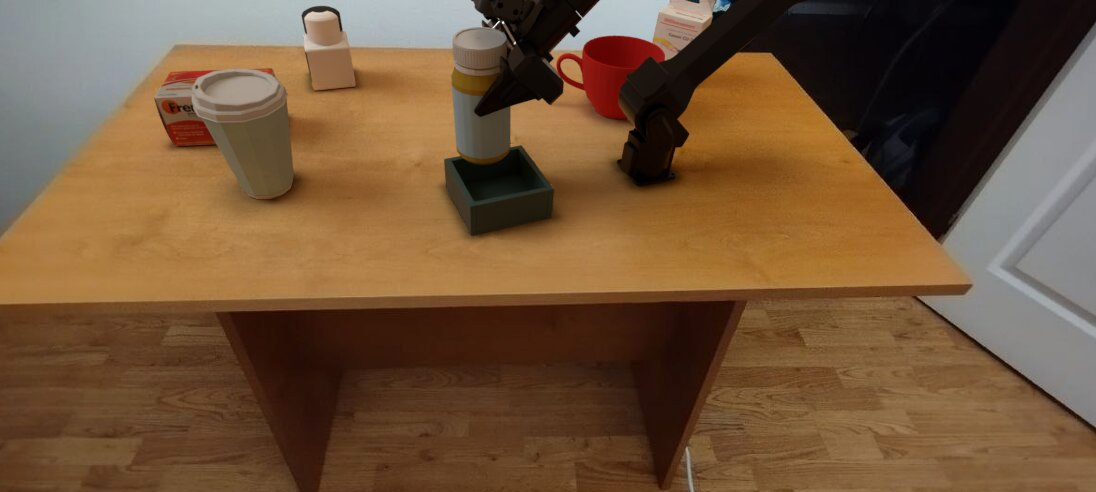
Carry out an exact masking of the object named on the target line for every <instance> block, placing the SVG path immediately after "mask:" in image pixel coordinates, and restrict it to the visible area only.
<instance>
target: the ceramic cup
mask: <svg viewBox="0 0 1096 492" xmlns="http://www.w3.org/2000/svg"><path fill="white" fill-rule="evenodd" d="M650 56H651V57H653V58H654V59H655V60H656V61H657V62H658V63H659V62H662V61H665V54H664V52H663V50H662V49H661V48H660V47H658V46H657V45H655V44H653V43H652V41H649V40H646V39H642V38H640V37H634V36H629V35H604V36H603V35H602V36H598V37H594V38H592V39H589V40H588V41H586V42H585V44H584V45H583V47H582V53H581V57H580V56H578V55H576V54H574V53H570V52H567V53H566V52H565V53H563V54H561V55H560V56H559V57H558V59H557V60H556V66H555V67H556V68H555V69H556V71H557V72H558V74H559V75H560V77H561V78H562V80H563V81H564V83H566V84H568V85H570V86H572V87H574V88H576V89H579V90H580V91H584V92H585V95H586V98H587V99H588V101H589V102H590V104H591V105H592V106H593V108H594V110H595V111H596V112H597V113H598V114H599V115H601V116H603V117H606V118H608V119H615V120H622V119H623V120H624V119H627V117H626V115H625V114H624V113H623V111H622V110H621V108H620V106H619V103H618V97H619V90H620V88H621V86H622V85H623V84H624V83H625V82H626V81H627V78H626V75H628V74H630V73H632V72H634V71H635V70H636V69H637V68H638V67H639V66H640V65H641V64H642V63H643V62H644V60H646V59H647V58H649V57H650ZM564 60H572V61H574V62H575V63H577V65H578V66H579V69H580V72H581V78H582V83H581V82H578V81H576V80H574V79H572V78H570V77H568V76H567V75H566V74H565V73H564V71H563V70H562V66H561V64H562V62H563V61H564Z"/></svg>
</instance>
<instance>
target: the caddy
mask: <svg viewBox="0 0 1096 492" xmlns="http://www.w3.org/2000/svg"><path fill="white" fill-rule="evenodd" d="M443 161H444V163H443V164H444V178H445V188H446V191H447V192H448V194H449V196H450V198H451V200H452V202H453V203H454V206H455V207H456V209H457V212H458V213H459V215H460V217H461V220H462V222H463V223H464V225H465V227H466V228H467V231H468V233H469V234H470V236H475V235H479V234H483V233H484V234H485V233H488V232H492V231H498V230H502V229H506V228H511V227H516V226H520V225H524V224H528V223H533V222H537V221H542V220H546V219H547V220H548V219H552V217H553V209H554V208H553V207H554V198H555V187H553V185H552V184H551V182H550V181H549V180H548V179H547V177H546V176H545V175H544V173H543V172H542V171H541V169H540V168H539V166H538V165H537V164H536V162H535V161H534V160H533V159H532V157H531V155H530V154H529V153H528V152H527V150H526V149H525V147H524V146H523V145H521V144H519V145H515V146H510V151H509V153H508V154H507V155H506V156H505V157H504V158H503V159H502V160H500V161H498V162H496V163H493V164H486V165H480V164H473V163H470V162H468V161H466V160H465V159H463V158H462V157H461V156H460V155H459V156H452V157H446V158H444V159H443Z"/></svg>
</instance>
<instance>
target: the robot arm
mask: <svg viewBox="0 0 1096 492" xmlns="http://www.w3.org/2000/svg"><path fill="white" fill-rule="evenodd" d="M470 1H471V2H473V4H474V9H475V10H476V11H477V12H478V13H480V14H481V15H482V16H483V18H484V19H485V20H486V21H488V22H486V21H485V20H484V19H482V20H481V27H487V28H493V29H496V30H499V31H501V32H503V33H504V34H505V35H506V38H507V60H505V59H504V58H503V57H502V56H500V73H499V76H498V77H497V78H496V80H495V81H494V82H493V84H492V85H491V86H490V88H489V89H488V90H487V92H486V93H485V94H484V96H483V97H482V99H481V100H480V101H479V103H478V104H477V106H476V107H475V109H474V113H475V114H476V115H478V116H479V117H482V116H485V115H488V114H491V113H493V112H496V111H499V110H502V109H504V108H507V107H510V106H511V107H513V106H515V105H519V104H523V103H527V102H530V101H533V100H536V101H537V102H540V101H541V100H543V101H544V102H545V103H546V104H548V105H549V106H552V105H553V104H554V103H555V102H556V101H557V100H558V99H559V98H560V97H561V96H562V95H563V94H564V85H565V81H564V80H563V79H562V78H561V77H560V75H559V74H558V72H557V68H555V67H554V66H553V65H552V64H551V62H552V61H553V60H554V59H555V57H554V56H553V55H552V53H551V52H552V51H553V50H554V49H555V48H556V47H557V46H558V45H559V44H560V43H561V42H562V41H563V40H564V39H565V38H566V36H567V35H571V36H572V38H575V37H577V36H578V35H579V34H580V33H581V30H580V28H578V26H577V25H578V24H579V23H581V21H583V19H584V18H585V16H586V15H587V14H589V12H590V11H591V10H592V9H594V7H595V6H597V4H598V3H599V2H600V1H601V0H470ZM807 1H808V0H737V1H735V2H734V3H733V4H731V6H729V8H727V9H726V10H725V11H724V12H722V14H720V15H719V16H718V17H717V18H715V20H713V22H711V24H710V25H709V26H708V27H707V28H706V29H705V30H704V31H702V32H701V33H700V34H699V35H698V36H697V37H696V38H694V39H693V40H692V41H691V42H690V43H689V44H688V45H687V46H685V47H684V48H683V49H682V50H681V51H680V52H679V53H677V54H676V55H675V56H674V57H672V58H671V59H668V60H665V61H662V62H659V63H658V62H657V61H656V60H655V59H654V58H653V57H651V56H650V57H649V58H647V59H646V60H644V62H643V63H642V64H641V65H640V66H639V67H638V68H637V69H636V70H635V71H634V72H632V73H630V74H628V75H626V78H627V81H626V82H625V83H624V84H623V85H622V86H621V88H620V90H619V97H618V103H619V106H620V108H621V110H622V111H623V113H624V114H625V115H626V117H627V118H626V119H627V121H628V122H629V123H630V124H631V125H632V127H633V129H631V130H628V134H627V139H626V141H625V142H624V144H623V149H622V154H621V158H619V159H617V160H616V165H617V166H618V167H619V168H620V170H621V171H623V172H624V174H625V175H626V176H627V177H628V178H629V179H630V180H631V181H632V182H633V183H634V184H635V185H636V186H638V187H641V186H647V185H651V184H655V183H661V182H665V181H666V182H667V181H670V180H674V179H676V178H677V174H676V172H675V171H673V170H672V165H673V160H674V156H675V152H676V149H678V148H679V149H680V148H682V147H683V146H684V144H685V143H686V141H687V140H688V139H689V137H690V132H689V131H688V130H687V129H686V127H684V125H683V124H682V123H681V122H680V121H679V120H678V119H679V118H681V116H682V115H683V114H685V112H686V111H687V108H688V106H689V104H690V102H691V100H692V98H693V95H694V94H695V91H696V89H697V88H698V87H699V86H700V85H701V84H703V83H704V82H705V81H706V80H707V79H708V78H709V77H710V76H712V75H713V74H714V73H716V71H718V70H719V69H720V68H721V67H723V66H724V65H725V64H726V63H727V62H728V61H729V60H731V59H732V57H734V56H736V54H738V53H739V52H740V51H741V50H742V49H744V48H745V47H746V46H747V45H748V44H750V43H751V42H752V41H753V40H754V39H756V38H757V37H758V36H759V35H761V33H762V32H764V31H765V30H766V29H767V28H768V27H770V26H771V25H772V24H773V23H774V22H775V21H776V20H778V19H779V18H780V17H782V16H783V15H784V14H785V13H786V12H787V11H789V10H790V9H791V8H792V7H794V6H795V5H798V4H800V3H803V2H807Z"/></svg>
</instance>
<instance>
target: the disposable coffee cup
mask: <svg viewBox="0 0 1096 492" xmlns="http://www.w3.org/2000/svg"><path fill="white" fill-rule="evenodd" d="M253 69H254V68H237V67H235V68H228V69H218V70H219V71H213V72H211V73H208V74H206V75H203V76H201V77H199V78H197V80H196V81H195V83H194V85H193V86H192V91H193V93H194V94H193V96H192V104H193V109H194V111H195V112H196V114H197V115H198V117H201V118H202V119H203V121H204V123H205V125H206V126H207V128H208V130H209V132H210V133H211V135H212V137H213V139H214V140H215V142H216V144H215V145H216V146H217V147H218V149H219V151H220V153H221V155H222V156H223V158H224V160H225V162H226V163H227V165H228V167H229V169H230V171H231V172H232V174H233V176H234V178H235V179H236V181H237V183H238V185H239V186H240V188H241V189H242V191H243V193H244V194H245V193H246V195H247V196H248V197H250V198H254V199H256V200H271V199H275V198H278V197H281V196H283V195H284V194H286V193H287V192H288V191H290V190H291V188H292V185H293V182H294V178H295V174H294V163H293V162H294V161H293V153H292V152H293V151H292V143H291V141H292V140H291V130H290V121H289V120H290V119H289V110H288V95H289V94H288V92H287V89H286V87H285V85H283V83H282V81H280V80H279V78H277V76H275V77H274V76H273V75H271V74H267V73H264V72H261V71H258V70H253Z"/></svg>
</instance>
